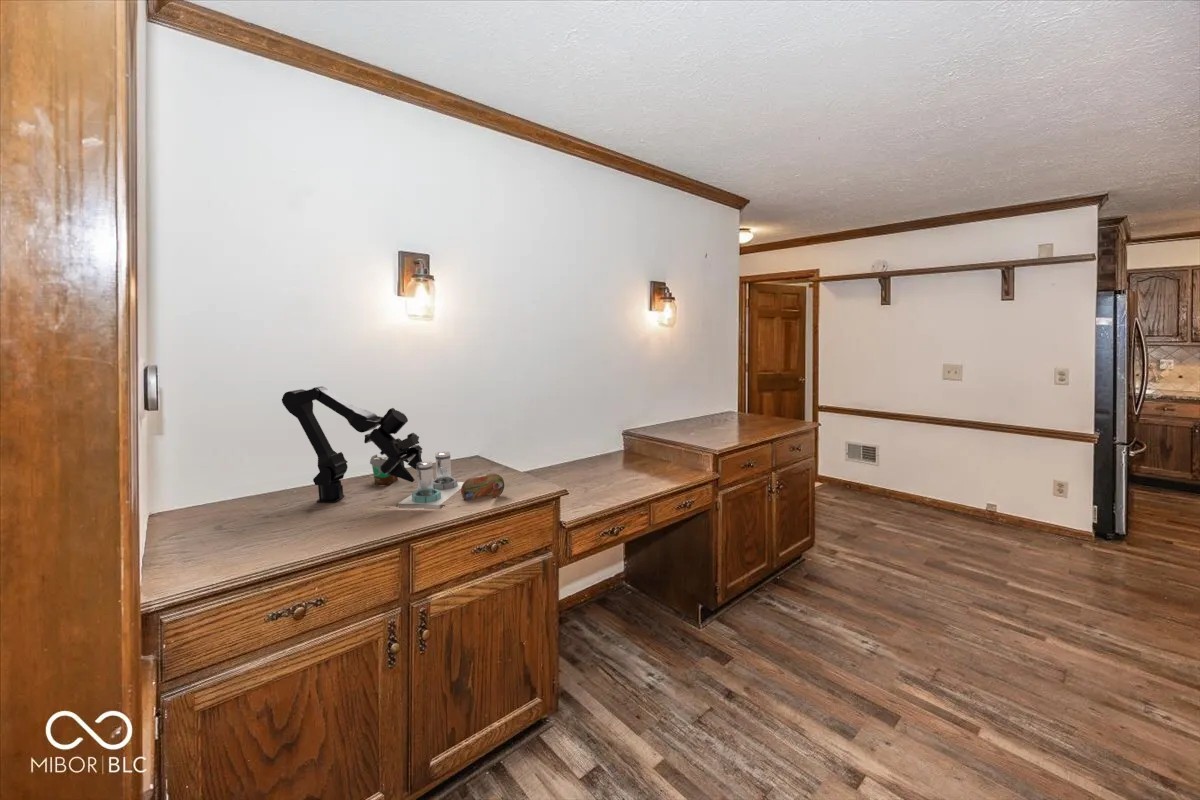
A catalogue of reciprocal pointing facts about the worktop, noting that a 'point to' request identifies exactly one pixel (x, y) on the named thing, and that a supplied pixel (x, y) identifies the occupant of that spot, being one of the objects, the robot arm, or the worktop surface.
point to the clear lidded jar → (443, 467)
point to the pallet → (432, 504)
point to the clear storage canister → (425, 478)
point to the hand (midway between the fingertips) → (420, 477)
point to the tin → (482, 486)
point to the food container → (378, 475)
